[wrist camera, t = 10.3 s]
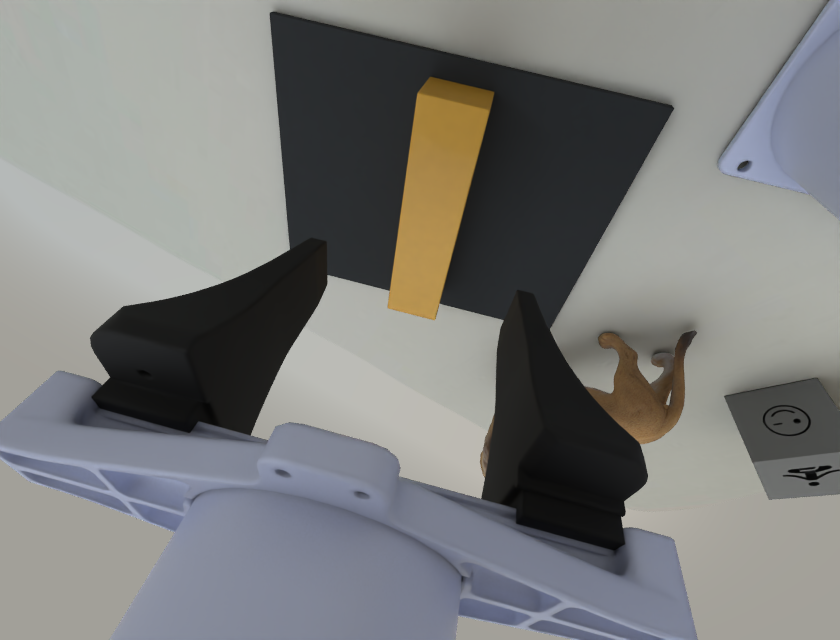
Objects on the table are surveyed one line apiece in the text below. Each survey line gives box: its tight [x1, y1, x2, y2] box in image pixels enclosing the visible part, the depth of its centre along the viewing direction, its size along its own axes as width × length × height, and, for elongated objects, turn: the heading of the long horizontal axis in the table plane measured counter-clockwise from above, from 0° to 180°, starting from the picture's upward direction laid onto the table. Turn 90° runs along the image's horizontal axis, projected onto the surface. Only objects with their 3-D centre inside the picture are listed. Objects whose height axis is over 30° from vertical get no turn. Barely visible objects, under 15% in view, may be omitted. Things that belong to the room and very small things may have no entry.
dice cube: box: [724, 378, 840, 500], centre depth 26 cm, size 5×5×5 cm
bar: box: [388, 77, 494, 320], centre depth 21 cm, size 12×3×3 cm, turn 171°
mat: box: [270, 12, 674, 329], centre depth 22 cm, size 18×14×1 cm
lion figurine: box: [480, 330, 697, 477], centre depth 25 cm, size 15×5×9 cm, turn 132°
